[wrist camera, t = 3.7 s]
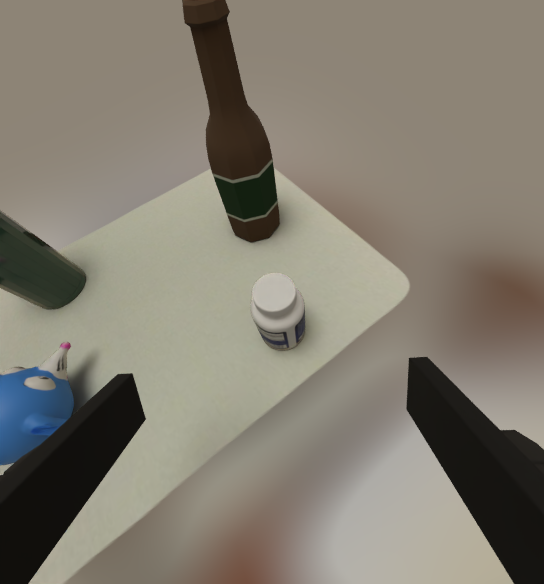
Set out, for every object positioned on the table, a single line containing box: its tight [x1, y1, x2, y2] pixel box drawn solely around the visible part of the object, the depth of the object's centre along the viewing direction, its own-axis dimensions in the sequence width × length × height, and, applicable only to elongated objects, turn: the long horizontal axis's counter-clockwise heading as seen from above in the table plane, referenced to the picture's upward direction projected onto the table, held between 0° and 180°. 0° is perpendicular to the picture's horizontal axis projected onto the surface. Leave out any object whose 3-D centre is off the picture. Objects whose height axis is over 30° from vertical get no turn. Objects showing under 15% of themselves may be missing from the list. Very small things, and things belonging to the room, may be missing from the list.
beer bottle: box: [182, 0, 280, 242], centre depth 29 cm, size 8×8×24 cm
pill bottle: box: [250, 273, 305, 350], centre depth 27 cm, size 5×5×10 cm
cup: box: [0, 210, 86, 309], centre depth 32 cm, size 7×7×15 cm
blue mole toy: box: [0, 342, 74, 465], centre depth 26 cm, size 12×12×8 cm
